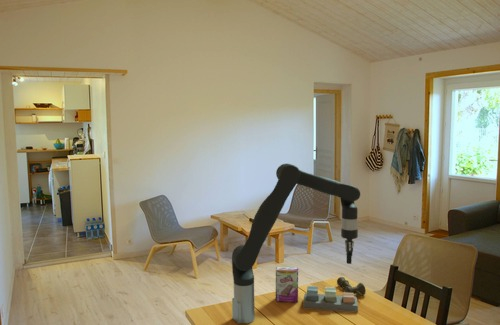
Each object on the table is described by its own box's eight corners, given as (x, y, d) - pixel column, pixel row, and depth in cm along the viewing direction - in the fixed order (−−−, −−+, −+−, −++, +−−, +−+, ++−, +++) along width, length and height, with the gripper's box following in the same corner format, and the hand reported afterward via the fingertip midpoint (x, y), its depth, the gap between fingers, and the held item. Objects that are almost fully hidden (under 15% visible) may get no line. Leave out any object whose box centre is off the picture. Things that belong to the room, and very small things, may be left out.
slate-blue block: (317, 300, 192) (317, 290, 191) (307, 300, 193) (307, 290, 192) (317, 296, 197) (317, 286, 196) (307, 295, 198) (307, 285, 197)
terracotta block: (354, 307, 189) (354, 297, 189) (343, 306, 190) (343, 296, 189) (353, 302, 194) (353, 292, 193) (342, 302, 195) (342, 292, 194)
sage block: (335, 302, 190) (335, 291, 190) (324, 301, 191) (325, 291, 191) (335, 297, 195) (335, 287, 195) (325, 296, 196) (325, 286, 196)
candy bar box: (275, 302, 198) (275, 270, 196) (275, 297, 203) (275, 266, 201) (298, 302, 197) (298, 270, 195) (298, 298, 202) (298, 266, 200)
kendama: (348, 284, 219) (370, 299, 200) (332, 287, 216) (353, 302, 197) (348, 274, 218) (370, 287, 199) (332, 277, 215) (353, 290, 196)
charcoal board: (357, 312, 186) (357, 305, 186) (303, 308, 191) (303, 302, 191) (356, 302, 196) (356, 296, 196) (304, 299, 201) (304, 293, 201)
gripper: (358, 231, 181) (358, 268, 183) (356, 224, 194) (356, 258, 196) (341, 230, 182) (341, 267, 184) (340, 223, 195) (340, 258, 197)
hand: (348, 263), depth 190 cm, fingers closed
